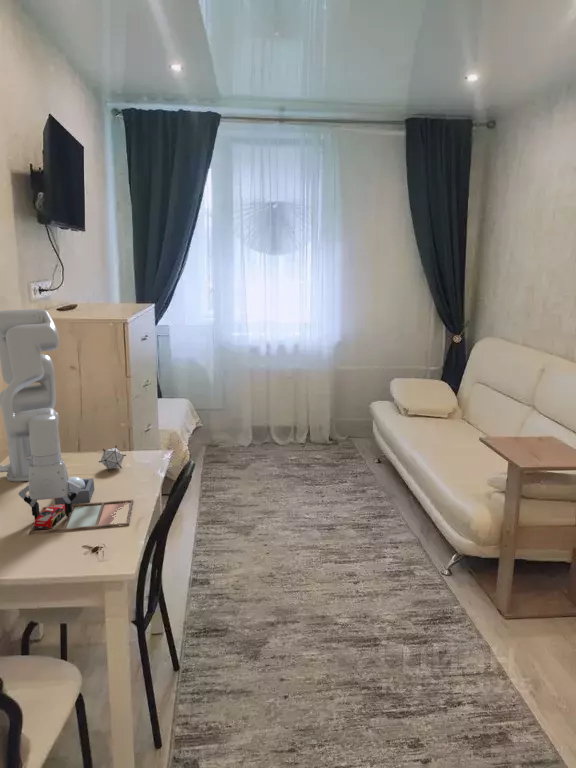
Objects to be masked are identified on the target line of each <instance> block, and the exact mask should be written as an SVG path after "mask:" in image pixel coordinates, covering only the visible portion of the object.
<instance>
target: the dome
mask: <svg viewBox="0 0 576 768" xmlns="http://www.w3.org/2000/svg"><path fill="white" fill-rule="evenodd" d="M68 478H69V477H68ZM82 479H83V478H81V477H78V476H71V477H70V478H69V481H71V482H73V483H75V484H77V485H79V486H81V489H80V490H82V489H85V482H84V481H83V480H82ZM69 490H74V489H72V488H70V489H69Z"/></svg>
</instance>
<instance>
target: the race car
mask: <svg viewBox="0 0 576 768" xmlns="http://www.w3.org/2000/svg"><path fill="white" fill-rule="evenodd" d="M46 507H47V508H45V509H44V510H43V511H42V512H41V513H40V515H39V516H38V517H37V518H36V520H35V519H34V522H35V523H34V522H33V524H34V526H35V528H34V529H35V530H36V529H37V530H50V529H51V528H54V527H55V526H57V524H58V523H59V522H60V521H61V520H62V519H63V518H64V517H66V512H65V505H64V504H58V505H55V504H53V505H52V506H46Z"/></svg>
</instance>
